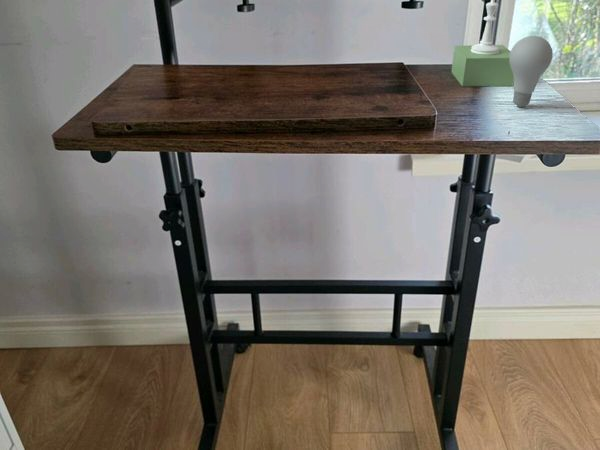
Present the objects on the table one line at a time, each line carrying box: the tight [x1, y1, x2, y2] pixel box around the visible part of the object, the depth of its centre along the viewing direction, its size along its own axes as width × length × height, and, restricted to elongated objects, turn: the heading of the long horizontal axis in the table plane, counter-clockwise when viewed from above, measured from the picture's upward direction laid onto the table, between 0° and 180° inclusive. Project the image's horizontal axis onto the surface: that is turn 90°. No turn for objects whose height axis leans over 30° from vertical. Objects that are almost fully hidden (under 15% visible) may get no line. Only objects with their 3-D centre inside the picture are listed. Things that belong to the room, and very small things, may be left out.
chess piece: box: [471, 0, 499, 55], centre depth 94 cm, size 5×5×10 cm
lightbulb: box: [509, 35, 554, 108], centre depth 83 cm, size 6×6×11 cm
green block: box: [450, 44, 514, 87], centre depth 98 cm, size 9×9×5 cm
